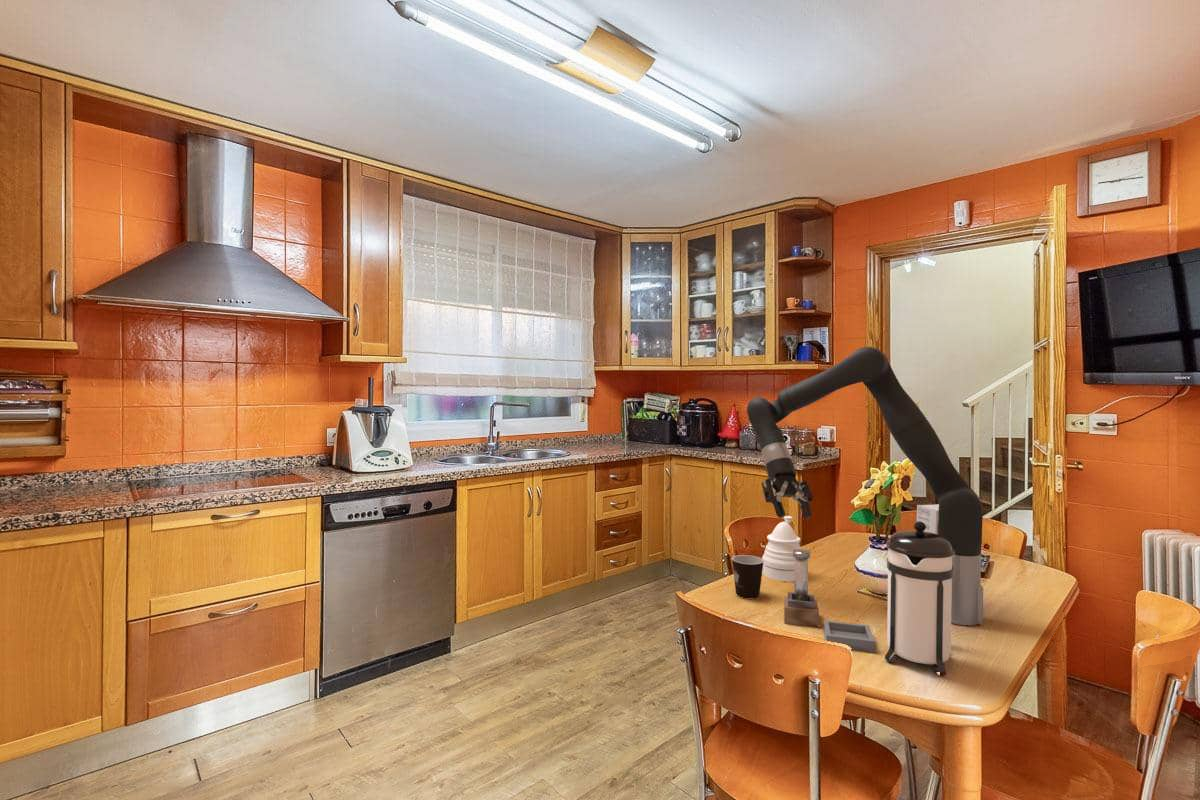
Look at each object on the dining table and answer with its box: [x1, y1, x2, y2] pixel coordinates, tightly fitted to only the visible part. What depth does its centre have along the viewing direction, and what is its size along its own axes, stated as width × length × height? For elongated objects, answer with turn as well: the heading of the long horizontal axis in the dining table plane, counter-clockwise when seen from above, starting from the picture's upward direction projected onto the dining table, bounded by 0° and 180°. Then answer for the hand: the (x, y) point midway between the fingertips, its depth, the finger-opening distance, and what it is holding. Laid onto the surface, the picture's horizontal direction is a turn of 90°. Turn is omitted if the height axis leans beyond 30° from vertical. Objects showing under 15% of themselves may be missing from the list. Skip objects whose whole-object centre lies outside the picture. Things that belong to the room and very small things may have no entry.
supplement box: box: [916, 503, 939, 534], centre depth 202 cm, size 10×9×17 cm
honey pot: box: [761, 515, 802, 583], centre depth 180 cm, size 13×13×18 cm
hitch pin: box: [793, 548, 811, 601], centre depth 146 cm, size 4×4×13 cm
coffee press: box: [884, 521, 955, 676], centre depth 126 cm, size 17×16×30 cm
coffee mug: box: [731, 554, 764, 599], centre depth 165 cm, size 12×9×10 cm
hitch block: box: [783, 591, 820, 628], centre depth 147 cm, size 8×8×6 cm
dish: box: [823, 619, 876, 653], centre depth 134 cm, size 10×9×2 cm
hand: (795, 517), depth 155 cm, fingers open, 8 cm apart
